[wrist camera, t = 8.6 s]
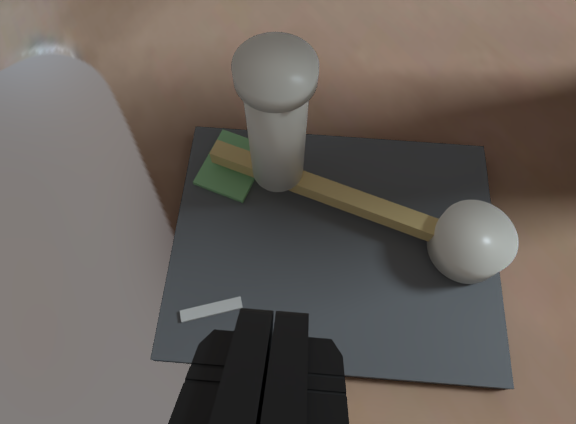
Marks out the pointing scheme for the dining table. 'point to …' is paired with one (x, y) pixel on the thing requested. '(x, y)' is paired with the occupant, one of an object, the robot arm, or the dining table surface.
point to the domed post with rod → (290, 176)
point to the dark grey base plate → (336, 262)
